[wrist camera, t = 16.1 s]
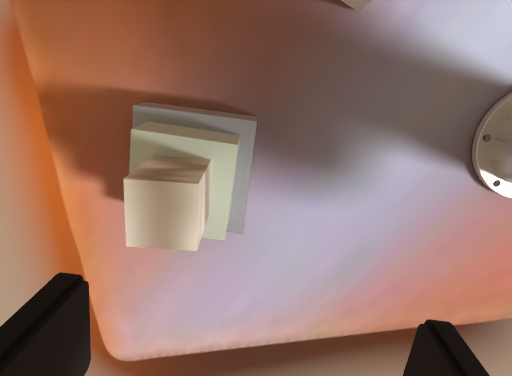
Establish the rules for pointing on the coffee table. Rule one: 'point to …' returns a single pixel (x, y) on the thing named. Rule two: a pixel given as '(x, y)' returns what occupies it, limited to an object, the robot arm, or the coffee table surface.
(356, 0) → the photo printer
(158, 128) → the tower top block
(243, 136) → the tower bottom block
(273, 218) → the coffee table surface
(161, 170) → the ash block
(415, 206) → the coffee table surface
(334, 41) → the coffee table surface
